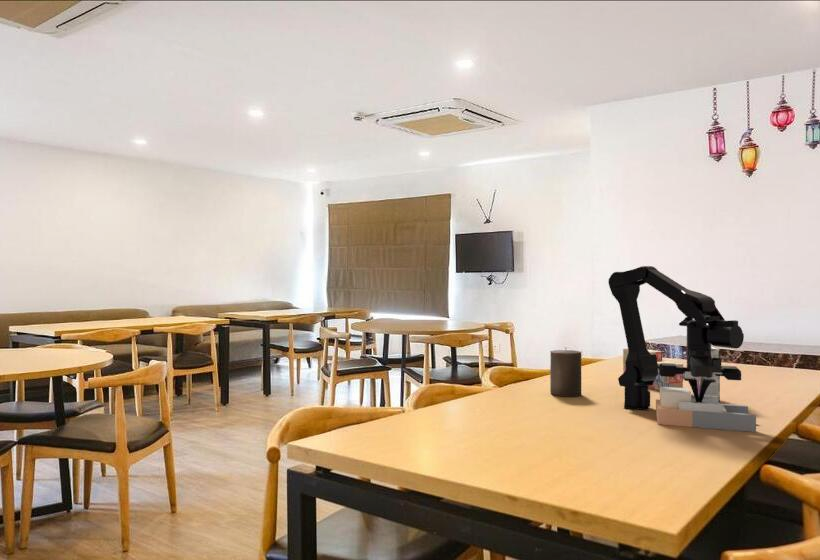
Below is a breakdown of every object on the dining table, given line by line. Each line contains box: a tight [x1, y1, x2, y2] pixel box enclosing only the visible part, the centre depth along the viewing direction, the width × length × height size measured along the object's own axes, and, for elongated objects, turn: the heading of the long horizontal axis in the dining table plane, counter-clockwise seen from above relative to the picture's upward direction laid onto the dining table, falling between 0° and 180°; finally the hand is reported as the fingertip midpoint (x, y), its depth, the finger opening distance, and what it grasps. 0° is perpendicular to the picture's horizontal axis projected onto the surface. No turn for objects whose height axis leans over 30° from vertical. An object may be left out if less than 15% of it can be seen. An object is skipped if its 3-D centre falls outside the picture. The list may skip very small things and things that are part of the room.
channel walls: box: [679, 394, 724, 413], centre depth 155 cm, size 10×11×2 cm
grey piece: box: [655, 399, 757, 433], centre depth 154 cm, size 22×12×4 cm, turn 70°
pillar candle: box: [549, 347, 582, 398], centre depth 191 cm, size 10×10×15 cm
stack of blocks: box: [622, 348, 684, 392], centre depth 204 cm, size 21×6×12 cm, turn 21°
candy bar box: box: [695, 345, 721, 404], centre depth 182 cm, size 11×5×16 cm, turn 168°
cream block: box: [659, 387, 692, 408], centre depth 156 cm, size 7×7×4 cm
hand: (698, 404), depth 155 cm, fingers closed
